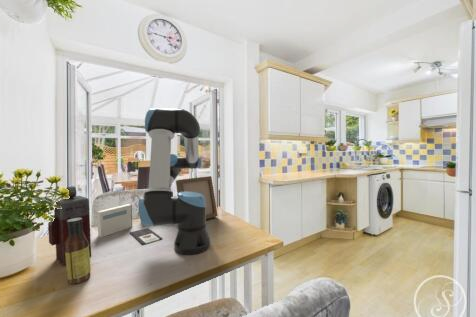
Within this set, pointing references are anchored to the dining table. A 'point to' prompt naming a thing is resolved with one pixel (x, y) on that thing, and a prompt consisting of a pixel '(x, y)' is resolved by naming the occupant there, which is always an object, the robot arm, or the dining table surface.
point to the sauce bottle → (77, 252)
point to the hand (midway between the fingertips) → (144, 215)
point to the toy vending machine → (59, 228)
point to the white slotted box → (114, 219)
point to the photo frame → (202, 187)
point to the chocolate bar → (145, 236)
